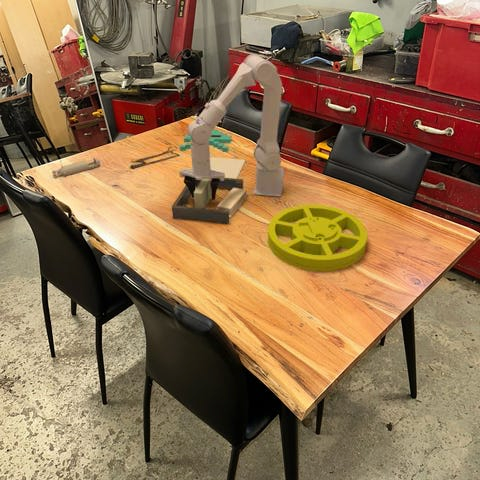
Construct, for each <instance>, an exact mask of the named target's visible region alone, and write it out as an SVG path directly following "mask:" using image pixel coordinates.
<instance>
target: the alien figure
mask: <svg viewBox="0 0 480 480" xmlns="http://www.w3.org/2000/svg"><path fill="white" fill-rule="evenodd" d="M190 138H191V137H190V136H189V134H185V136H184V138H183V142H184V143H185V144H180V145H179V151H180V152H186V150H191V143H188V142H191V141H190ZM231 138H232V135H229V134H228V133H224V132H223V131H222V130H221V131H219V129H215V128H214V129H213V130H212V132H211V138H210V140H209V146H213V148H217V150H218V149H222V153H229V145H224V144H231V143H232V140H231ZM232 139H233V138H232ZM230 142H231V143H230Z"/></svg>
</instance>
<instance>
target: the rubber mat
mask: <svg viewBox="0 0 480 480" xmlns="http://www.w3.org/2000/svg"><path fill="white" fill-rule="evenodd" d="M246 162H247V161H246V159H241V158H240V159H238V158H228V157H227V158H225V157H213V156H210V165H211V170H214V171H217V172H221V173H225V178H235V179H239V175H240V173H241V171H242V169H243V167H244V165H245V163H246Z"/></svg>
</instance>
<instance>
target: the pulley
mask: <svg viewBox="0 0 480 480" xmlns="http://www.w3.org/2000/svg"><path fill="white" fill-rule="evenodd" d="M295 221H296V222H295ZM293 222H294V223H293ZM345 228H346V230H348V231H350V232H351V234H348V233H344V232H343V229H345ZM278 236H284V237H288V238H291V240H290V241H288V242H286V243H284V242H283V241H281V240H280V238H279V237H278ZM367 240H368V231H367V228H366V227H365V225H364V224H363V222H362V221H361V220H360V219H359V218H358V217H356V216H355V215H353V214H352V213H350V212H347V211H345V210H343V209H340V208H338V207H334V206H329V205H323V204H322V205H321V204H301V205H296V206H292V207H289V208H286V209H283V210H282V211H280V212H278V213H277V214H275V215H274V216H273V217H272V218H271V219H270V220H269V223H268V228H267V244H268V247H269V249H270V250H271V252H272V254H273V255H274V256H276V257H277V259H279V260H281V261H282V262H283V263H286V264H287V265H289V266H292V267H294V268H297V269H300V270H301V269H302V270H306V271H311V272H312V271H313V272H333V271H338V270H343V269H346V268H348V267H351V266H352V265H354V264H355V263H357V262H358V261H359V260H361V258H362V257H363V255H364V254H365V251H366V246H367ZM340 248H341V249H347V250H345V251H343V252H338V253H335V254H333V253H334V252H336V251H337V250H339V249H340Z"/></svg>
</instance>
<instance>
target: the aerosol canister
mask: <svg viewBox="0 0 480 480" xmlns="http://www.w3.org/2000/svg"><path fill="white" fill-rule="evenodd" d="M59 162H60V164H61V166H60V168H59V169H55V170H53V171H51V173H52V176H53V178H54V177H60V176H63V177H64V176H65V177H66V176H70V175H74V174H78V173H80V172H84V171H87V170H92V169H96V168H98V167H100V165H101V160H100V159H99V158H97V157H94V158H93V161H91V162H88V161H87V160H81V161H78V162H75V163H74V162H73V163H70V164H68V165H67V164H66V165H63V164H62V160H61V159H59Z"/></svg>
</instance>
